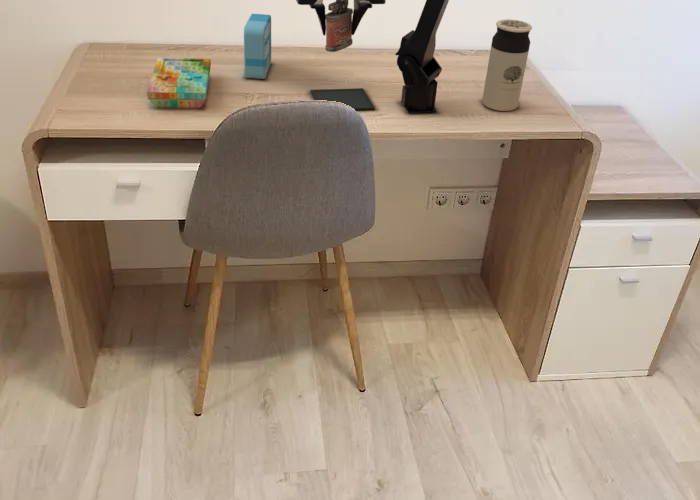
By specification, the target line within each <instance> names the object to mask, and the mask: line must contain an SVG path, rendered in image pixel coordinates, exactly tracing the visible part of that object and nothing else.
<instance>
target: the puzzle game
mask: <svg viewBox="0 0 700 500" xmlns="http://www.w3.org/2000/svg"><path fill="white" fill-rule="evenodd" d="M211 67H212V59H211V58H185V57H183V58H182V57H177V58H176V57H157V59H156V62H155V66H154V69H153V72H152V76H151V78H150V81H149V85H148V88H147V91H146V95H147V96H146V97H147V99H148V100H149V102H150V103H151V104H152V105H153V106H154V107H156V108H162V109H163V108H164V109H165V108H170V109H171V108H172V109H173V108H174V109H179V108H180V109H184V108H185V109H200V108H201V107H202V106H204V103H205V102H206V100H207V95H208V89H209V88H208V87H209V80H210V74H211Z"/></svg>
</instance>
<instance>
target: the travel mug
mask: <svg viewBox="0 0 700 500" xmlns="http://www.w3.org/2000/svg"><path fill="white" fill-rule="evenodd" d="M495 25H496V32H495V33H494V35H493V36H492V40H491V45H490V49H489V50H490V51H489V56H488V62H487V68H486V75H485V81H484V86H483V92H482V93H483V94H482V97H481V98H482V99H481V103H482V104H483V105H484V106H485V107H487V108H488V109H491V110H494V111H498V112H499V111H500V112H509V111H514V110H516V109H517V108H518V107H519V102H520V97H521V92H522V88H523V82H524V77H525V72H526V66H527V61H528V56H529V52H530V46H531V39H530V36H529V35H530V32H531V30H532V29H533V26H532V25H531V24H530V23H528V22H526V21H523V20H519V19H509V18H508V19H500V20H498V21H497V22H496V23H495Z"/></svg>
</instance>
